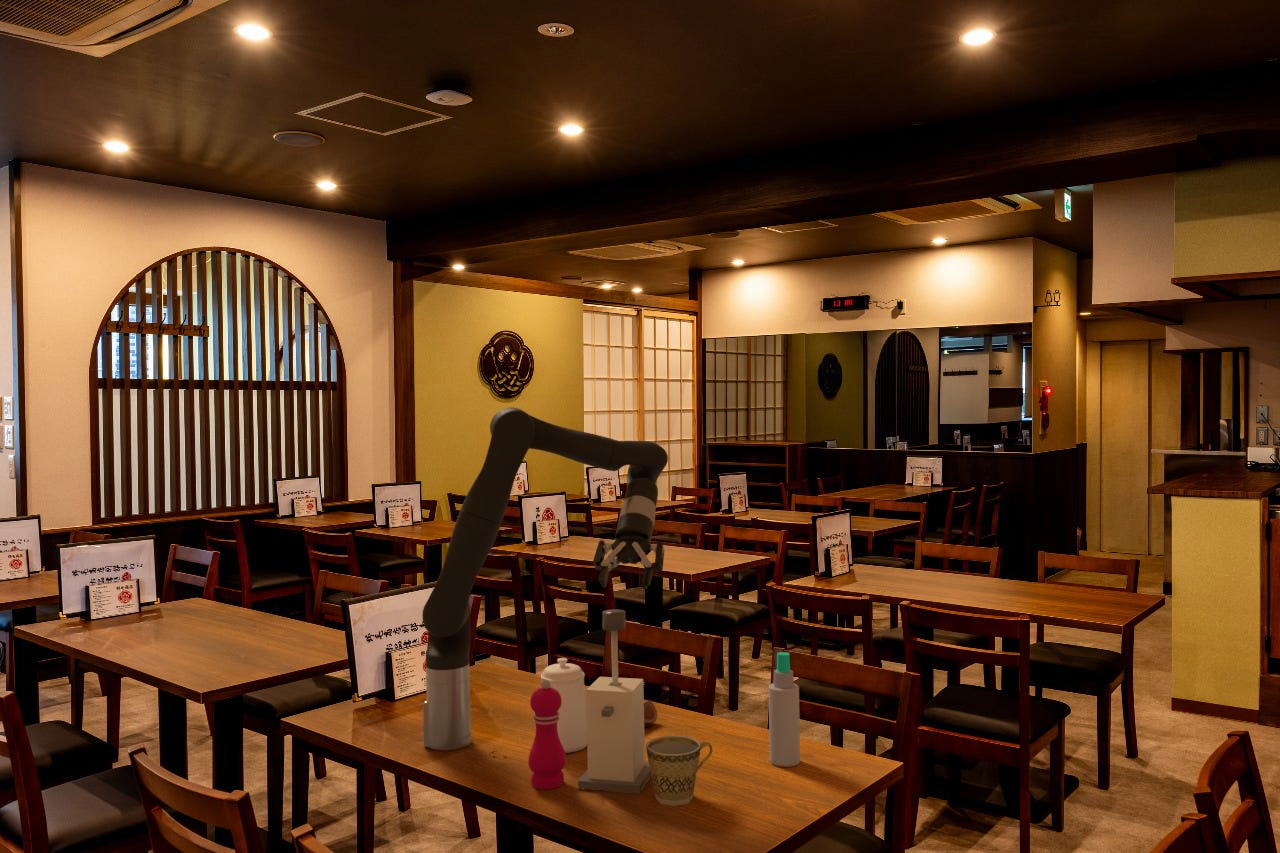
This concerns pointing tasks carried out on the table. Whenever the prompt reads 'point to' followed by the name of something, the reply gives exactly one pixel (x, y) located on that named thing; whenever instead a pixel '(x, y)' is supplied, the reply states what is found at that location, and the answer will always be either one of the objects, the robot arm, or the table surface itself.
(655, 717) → the fruit slice
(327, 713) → the table surface
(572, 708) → the coffeepot
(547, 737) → the pepper mill
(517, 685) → the table surface
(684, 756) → the ceramic cup
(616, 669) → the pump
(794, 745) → the spray bottle
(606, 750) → the dispenser
